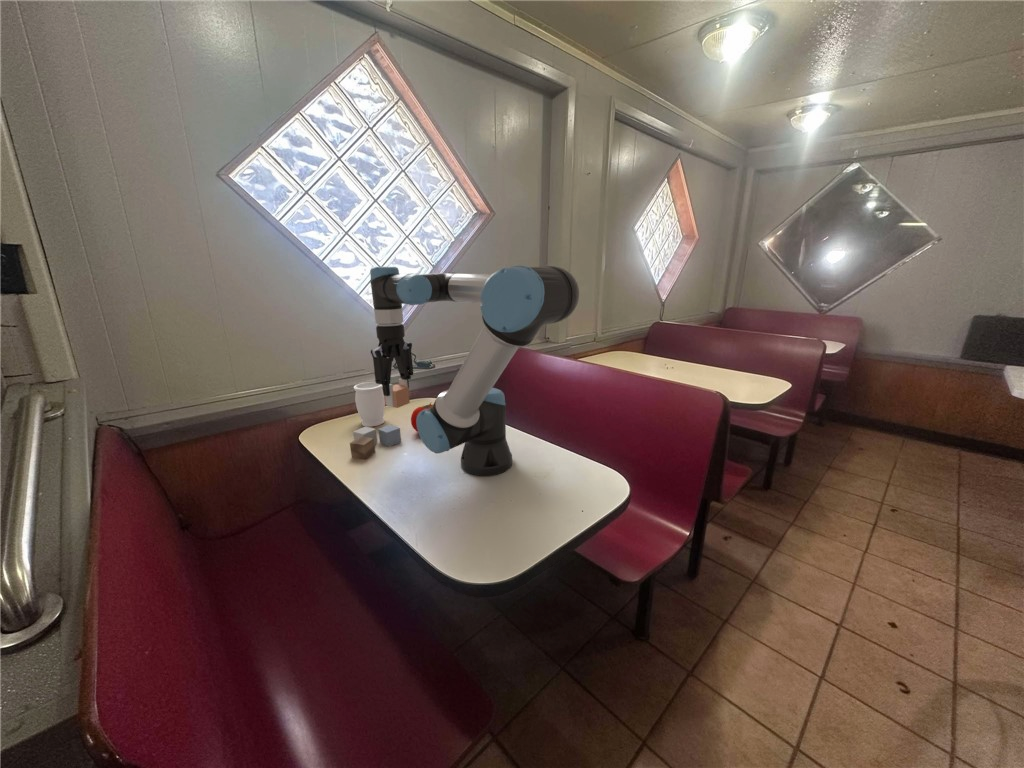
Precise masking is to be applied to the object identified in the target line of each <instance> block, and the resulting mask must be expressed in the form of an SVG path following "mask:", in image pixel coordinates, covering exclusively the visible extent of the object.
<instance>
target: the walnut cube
mask: <svg viewBox="0 0 1024 768" xmlns="http://www.w3.org/2000/svg"><path fill="white" fill-rule="evenodd" d="M349 447H350V453H351V454H350V455H351V458H352V459H357V460H358V459H359V460H368V458H370V457H371V456H373V455H375V454H376V446H375V444H374V438H368V437H359V438H357V439H355V440H352V441H351V442H349Z"/></svg>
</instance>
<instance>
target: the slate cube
mask: <svg viewBox="0 0 1024 768" xmlns="http://www.w3.org/2000/svg"><path fill="white" fill-rule="evenodd" d="M377 431H378V438H379V443H380V444H381V445H384V446H386V447H391V446H394V445H396V444H399V443H401V442H402V435H401V428H400V427H398V426H397V425H393V424H389V425H386V426H383V427H380V428H377Z"/></svg>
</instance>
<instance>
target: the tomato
mask: <svg viewBox="0 0 1024 768" xmlns="http://www.w3.org/2000/svg"><path fill="white" fill-rule="evenodd" d="M432 406H433V404H432V402H430V403H429V404H427V405H423V406H418V407H416V408H415V409H414V410H413V411H412V413H411V417H410V423H411V426H412V428H413V429H414V431H415V432H417V433H418V430H417V425H416V419H417V415H418V414H419V412H421V411H423V410H424V409H429V408H431V407H432Z"/></svg>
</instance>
